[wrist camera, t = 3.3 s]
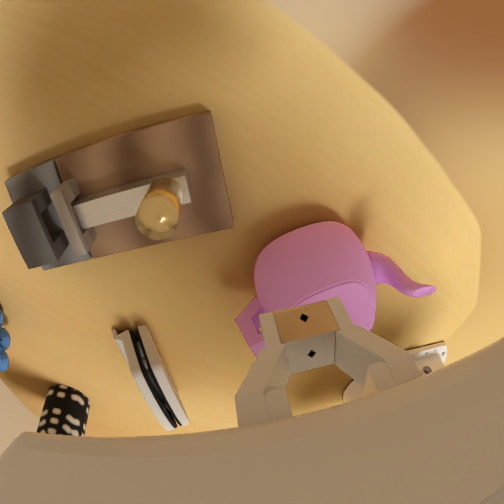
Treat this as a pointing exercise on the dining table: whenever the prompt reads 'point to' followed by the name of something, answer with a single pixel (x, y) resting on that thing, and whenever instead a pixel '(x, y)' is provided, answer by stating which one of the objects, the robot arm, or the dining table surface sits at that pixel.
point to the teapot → (321, 276)
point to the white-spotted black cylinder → (64, 412)
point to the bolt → (138, 204)
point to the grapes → (3, 345)
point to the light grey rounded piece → (152, 377)
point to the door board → (109, 176)
